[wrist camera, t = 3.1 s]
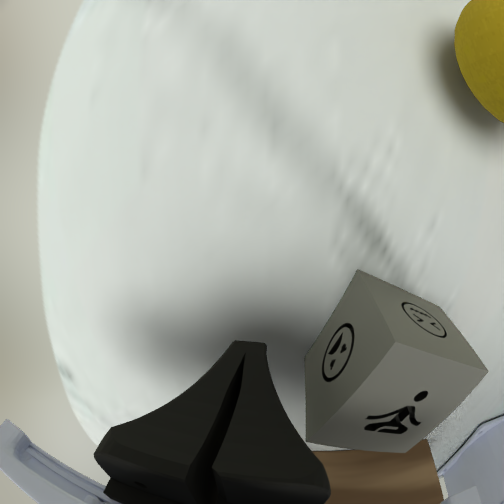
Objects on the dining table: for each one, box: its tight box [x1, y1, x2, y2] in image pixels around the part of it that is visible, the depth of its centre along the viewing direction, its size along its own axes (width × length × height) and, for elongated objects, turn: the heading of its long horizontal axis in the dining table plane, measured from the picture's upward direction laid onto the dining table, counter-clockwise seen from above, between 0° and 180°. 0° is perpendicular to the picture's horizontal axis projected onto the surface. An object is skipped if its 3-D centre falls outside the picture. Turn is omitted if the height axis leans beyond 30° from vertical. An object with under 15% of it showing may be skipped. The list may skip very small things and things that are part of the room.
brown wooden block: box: [312, 439, 444, 504], centre depth 12 cm, size 2×14×7 cm, turn 88°
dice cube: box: [305, 270, 488, 453], centre depth 9 cm, size 5×5×5 cm
